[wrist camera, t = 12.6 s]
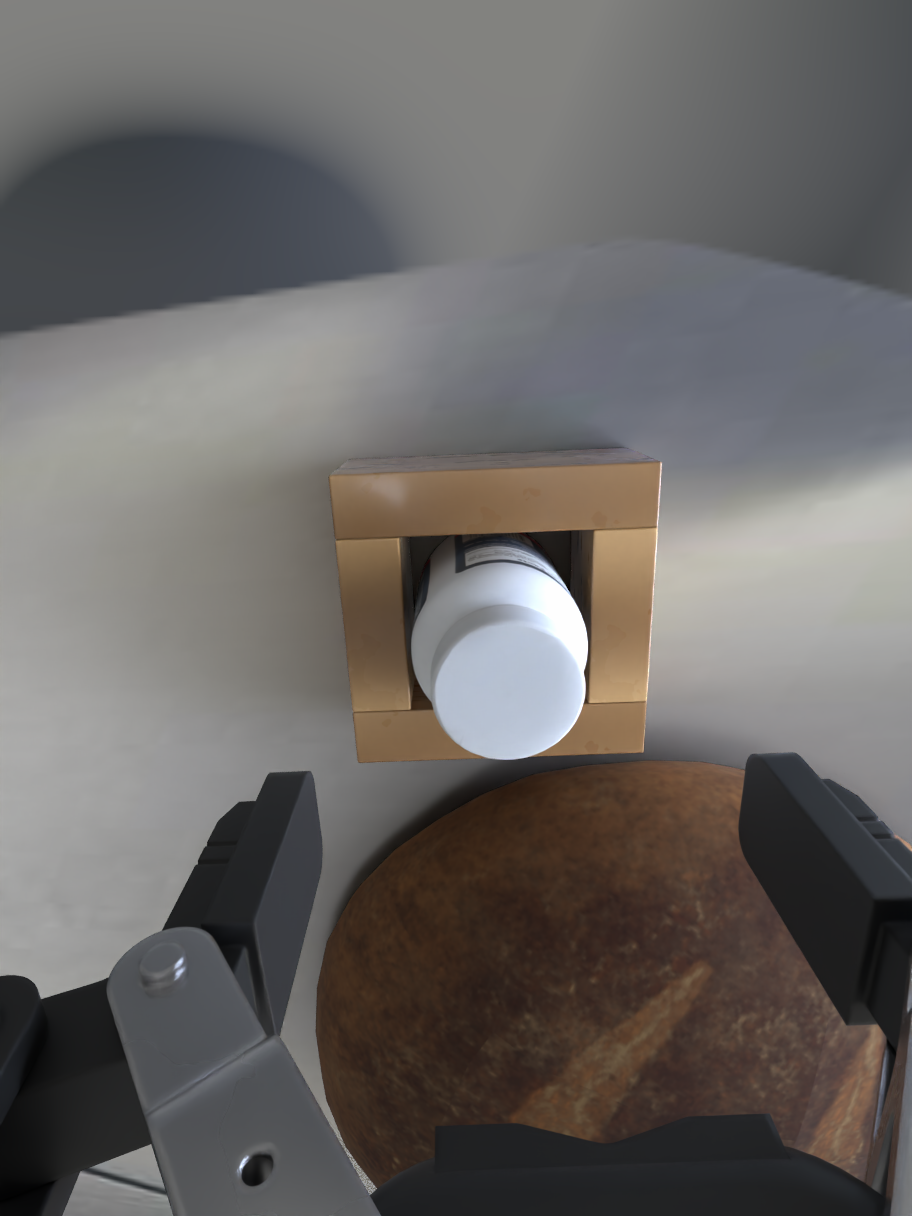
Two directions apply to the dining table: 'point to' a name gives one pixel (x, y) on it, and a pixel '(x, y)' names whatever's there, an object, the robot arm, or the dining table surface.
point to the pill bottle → (498, 645)
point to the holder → (486, 504)
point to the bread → (582, 977)
